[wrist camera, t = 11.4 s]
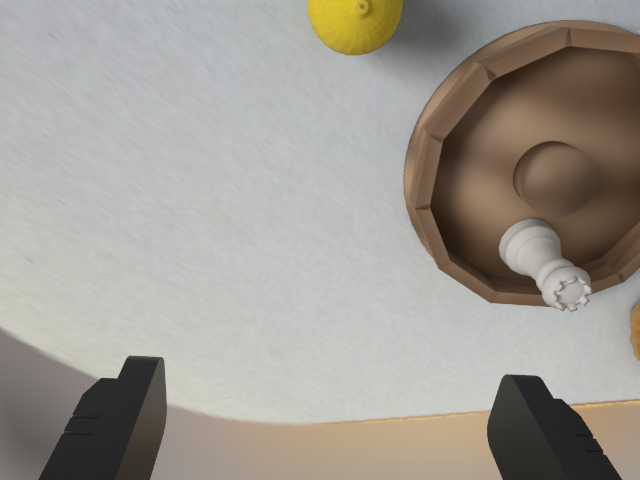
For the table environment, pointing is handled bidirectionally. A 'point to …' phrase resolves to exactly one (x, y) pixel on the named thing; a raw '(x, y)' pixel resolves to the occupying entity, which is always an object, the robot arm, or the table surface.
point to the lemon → (354, 23)
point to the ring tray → (508, 124)
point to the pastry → (635, 330)
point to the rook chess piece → (545, 264)
